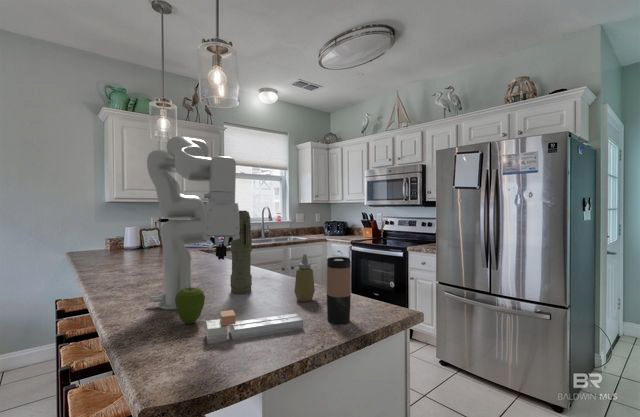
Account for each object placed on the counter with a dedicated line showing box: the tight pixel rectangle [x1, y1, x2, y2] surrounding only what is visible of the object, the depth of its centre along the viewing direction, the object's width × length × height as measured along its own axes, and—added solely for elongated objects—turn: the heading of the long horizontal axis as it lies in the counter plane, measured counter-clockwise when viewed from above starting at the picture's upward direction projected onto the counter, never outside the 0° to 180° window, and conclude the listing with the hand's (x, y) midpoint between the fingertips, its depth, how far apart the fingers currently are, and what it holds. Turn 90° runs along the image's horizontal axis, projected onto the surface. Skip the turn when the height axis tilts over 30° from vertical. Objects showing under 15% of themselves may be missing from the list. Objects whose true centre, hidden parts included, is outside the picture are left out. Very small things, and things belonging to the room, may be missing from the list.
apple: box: [175, 287, 206, 325], centre depth 100 cm, size 9×8×12 cm
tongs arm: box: [229, 313, 300, 335], centre depth 96 cm, size 20×3×3 cm, turn 113°
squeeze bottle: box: [294, 253, 316, 302], centre depth 126 cm, size 8×8×18 cm
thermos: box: [230, 210, 253, 295], centre depth 137 cm, size 9×12×35 cm
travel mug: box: [326, 256, 352, 326], centre depth 102 cm, size 8×8×20 cm
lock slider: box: [219, 309, 237, 326], centre depth 90 cm, size 4×5×2 cm
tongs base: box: [205, 316, 304, 345], centre depth 93 cm, size 27×7×4 cm, turn 113°
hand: (220, 258), depth 96 cm, fingers closed
